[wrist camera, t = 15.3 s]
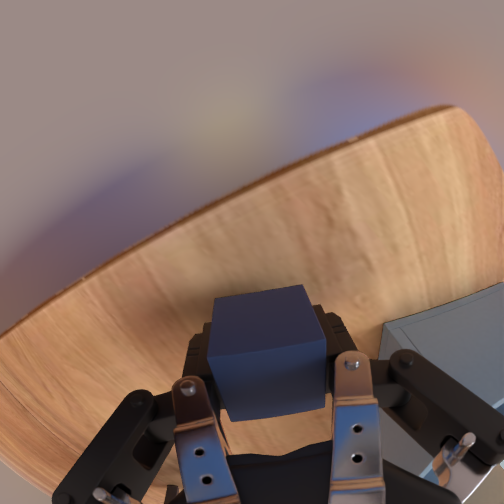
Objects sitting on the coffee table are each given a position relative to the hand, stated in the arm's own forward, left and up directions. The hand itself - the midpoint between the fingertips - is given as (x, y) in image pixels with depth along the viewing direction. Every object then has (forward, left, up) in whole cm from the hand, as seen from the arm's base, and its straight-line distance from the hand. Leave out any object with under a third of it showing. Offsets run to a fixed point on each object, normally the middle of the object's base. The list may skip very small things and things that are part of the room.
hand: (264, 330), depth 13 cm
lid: (+4, +21, +15) cm, 26 cm away
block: (0, 0, 0) cm, 0 cm away
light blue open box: (-1, +17, -2) cm, 17 cm away
